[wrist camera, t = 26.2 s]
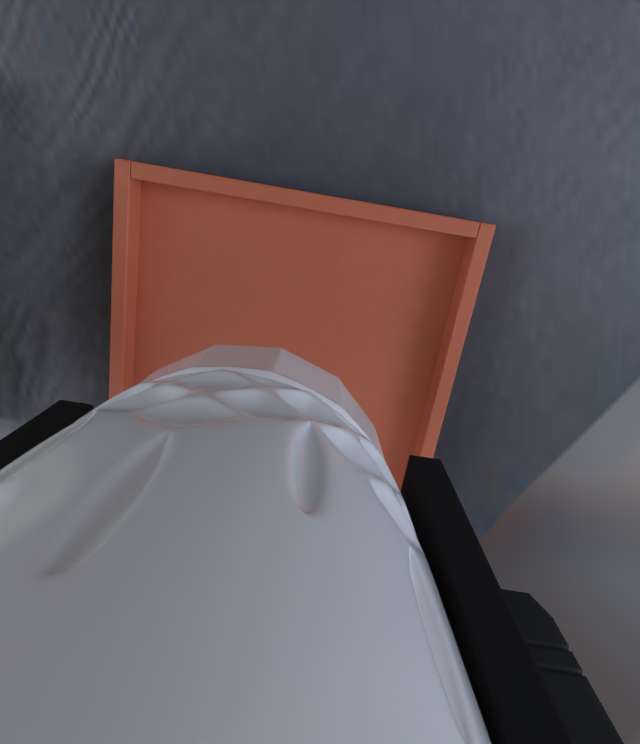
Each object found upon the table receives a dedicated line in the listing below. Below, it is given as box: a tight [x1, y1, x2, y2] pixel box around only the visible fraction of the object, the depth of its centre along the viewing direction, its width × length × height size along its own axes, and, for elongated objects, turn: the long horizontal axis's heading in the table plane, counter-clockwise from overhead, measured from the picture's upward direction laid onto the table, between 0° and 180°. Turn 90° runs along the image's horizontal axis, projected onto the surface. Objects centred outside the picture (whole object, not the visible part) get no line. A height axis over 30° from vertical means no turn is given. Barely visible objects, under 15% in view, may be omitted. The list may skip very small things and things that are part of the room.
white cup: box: [0, 344, 492, 744], centre depth 7 cm, size 8×8×10 cm
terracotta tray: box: [109, 158, 496, 491], centre depth 20 cm, size 14×14×2 cm
